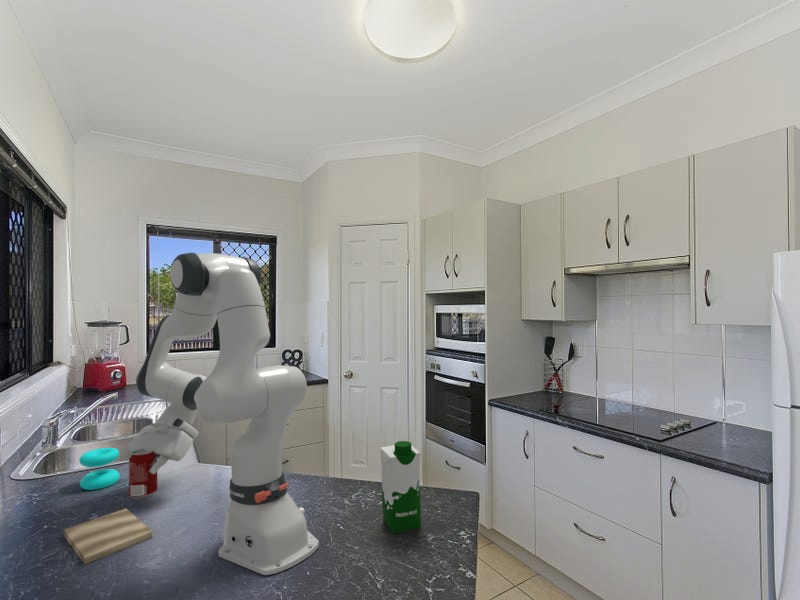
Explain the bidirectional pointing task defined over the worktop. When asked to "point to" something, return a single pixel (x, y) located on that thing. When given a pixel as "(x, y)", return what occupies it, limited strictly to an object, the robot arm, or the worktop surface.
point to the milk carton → (401, 487)
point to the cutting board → (106, 535)
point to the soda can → (142, 474)
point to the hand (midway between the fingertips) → (141, 470)
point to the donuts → (101, 476)
